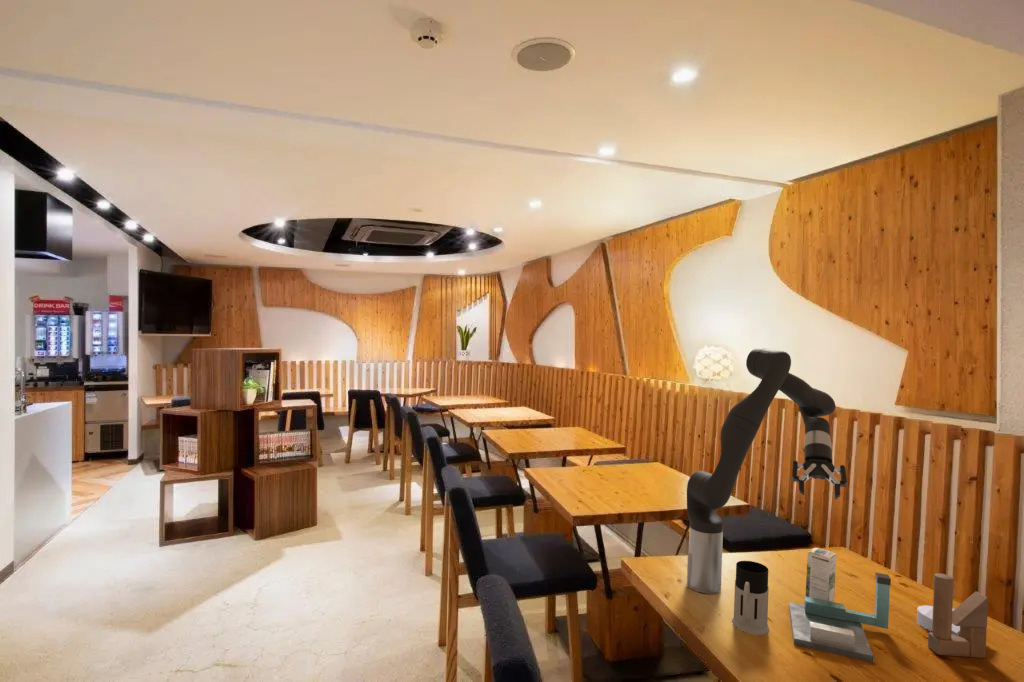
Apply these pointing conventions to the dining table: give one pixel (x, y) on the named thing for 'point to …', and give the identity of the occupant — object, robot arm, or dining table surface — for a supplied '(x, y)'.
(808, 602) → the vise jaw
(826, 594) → the syrup box
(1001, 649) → the dining table surface
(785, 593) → the dining table surface
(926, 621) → the wedge on round base
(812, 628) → the vise
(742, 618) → the glass holder
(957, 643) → the wooden block
